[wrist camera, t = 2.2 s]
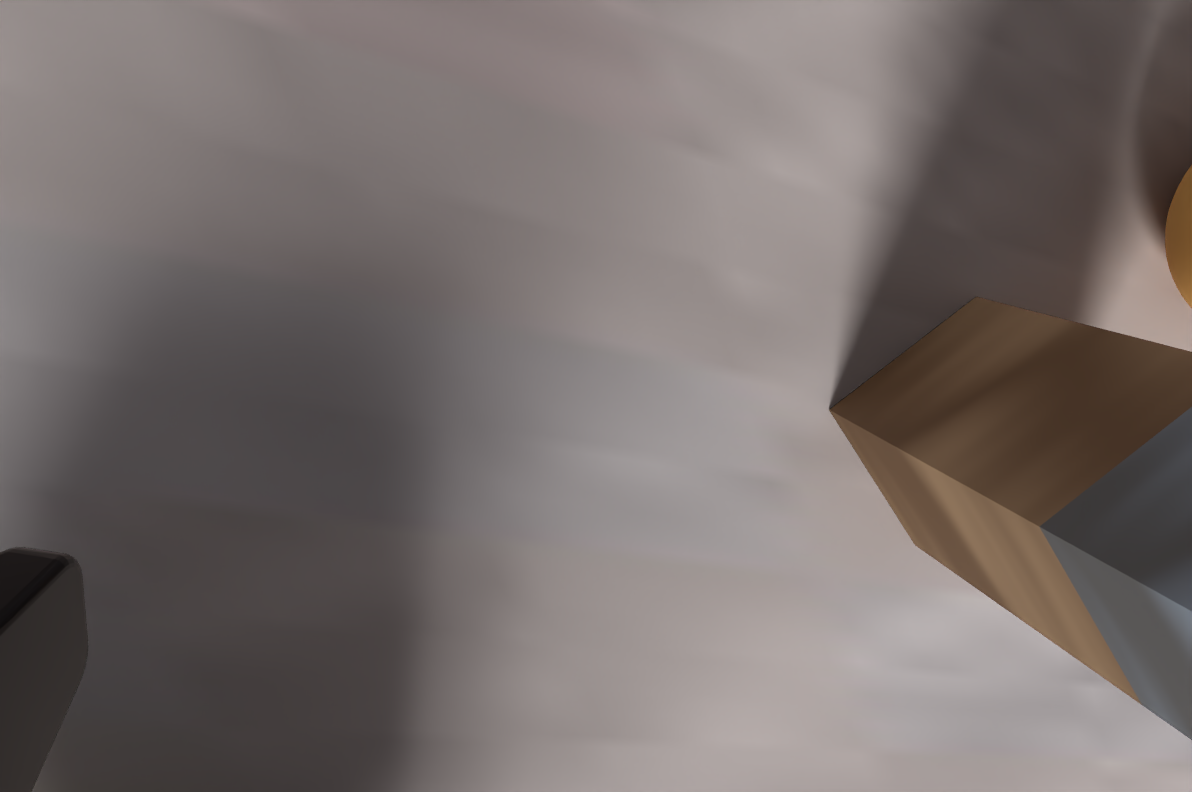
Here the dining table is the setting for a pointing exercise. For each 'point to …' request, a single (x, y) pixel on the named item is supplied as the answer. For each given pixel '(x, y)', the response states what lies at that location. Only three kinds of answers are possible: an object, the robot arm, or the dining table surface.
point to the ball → (1181, 237)
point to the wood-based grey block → (1049, 482)
